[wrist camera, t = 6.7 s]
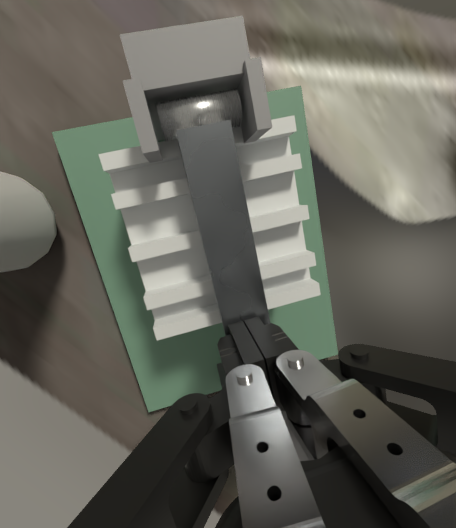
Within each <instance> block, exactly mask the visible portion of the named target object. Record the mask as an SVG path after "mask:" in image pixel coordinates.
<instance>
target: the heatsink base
mask: <svg viewBox="0 0 456 528" xmlns="http://www.w3.org/2000/svg"><path fill="white" fill-rule="evenodd" d="M120 37H121V41H122V45H123V48H124V52H125V56H126V60H127V63H128V67H129V71H130V74H131V78H132V79H129V80H124V81H123V84H124V88H125V91H126V95H127V98H128V102H129V106H130V109H131V113H132V117H131V118H126V119H121V120H115V121H110V122H105V123H99V124H94V125H89V126H83V127H78V128H73V129H67V130H62V131H57V132H52V134H53V137H54V140H55V143H56V146H57V149H58V152H59V155H60V157H61V160H62V163H63V166H64V169H65V172H66V175H67V178H68V181H69V183H70V186H71V189H72V192H73V195H74V198H75V201H76V204H77V207H78V209H79V212H80V215H81V218H82V221H83V224H84V227H85V230H86V233H87V236H88V238H89V241H90V244H91V247H92V250H93V253H94V256H95V259H96V262H97V264H98V267H99V270H100V273H101V276H102V279H103V282H104V285H105V288H106V291H107V293H108V296H109V299H110V302H111V305H112V308H113V311H114V314H115V317H116V319H117V322H118V325H119V328H120V331H121V334H122V337H123V340H124V343H125V345H126V348H127V351H128V354H129V357H130V360H131V363H132V366H133V369H134V372H135V374H136V377H137V380H138V383H139V386H140V389H141V392H142V395H143V398H144V400H145V403H146V406H147V409H148V412H152V411H155V410H158V409H162V408H165V407H168V406H171V405H173V404H174V403H175V402H176V401H177V400H178V399H180V398H181V397H183V396H185V395H188V394H192V393H201V394H204V395H207V394H210V393H214V392H217V391H220V390H222V386H221V382H220V377H219V373H218V368H217V364H218V363H222V361H221V358H220V354H219V350H218V346H217V344H218V341H219V339H220V338H221V337H225V334H224V329H223V325H222V321H221V317H220V313H219V309H218V305H217V301H216V297H215V293H214V289H213V285H212V280H211V276H210V272H209V268H208V264H207V260H206V256H205V252H204V248H203V244H202V240H201V236H200V232H199V227H198V223H197V219H196V215H195V211H194V207H193V203H192V199H191V195H190V191H189V187H188V183H187V178H186V174H185V170H184V166H183V162H182V158H181V154H180V150H179V146H178V142H177V140H172V141H167V142H165V139H164V135H163V131H162V127H161V123H160V119H159V115H158V111H157V107H156V103H158V102H163V101H169V100H174V99H180V98H185V97H191V96H196V95H202V94H207V93H213V92H218V91H224V90H229V89H234V88H236V89H237V91H238V93H239V96H240V100H241V106H242V125H241V127H237V128H232V131H233V136H234V141H235V146H236V151H237V156H238V161H239V166H240V171H241V176H242V181H243V187H244V192H245V197H246V202H247V207H248V212H249V217H250V222H251V227H252V232H253V237H254V242H255V247H256V252H257V257H258V262H259V267H260V273H261V278H262V283H263V288H264V293H265V298H266V303H267V308H268V313H269V318H270V323H273V324H275V325H278V326H280V327H281V329H282V330H283V331H284V333H286V335H287V336H288V337H289V338H290V339H291V341H292V342H293V343H294V344H295V345H296V347H297V348H298V349H299V350H304V351H307V352H309V353H311V354H312V355H313V356H314V357H315V358H316V359H318V360H321V359H324V358H327V357H331V356H334V355H337V354H338V351H337V343H336V336H335V329H334V322H333V314H332V307H331V300H330V292H329V286H328V278H327V271H326V264H325V256H324V250H323V242H322V234H321V227H320V220H319V213H318V205H317V198H316V191H315V184H314V176H313V169H312V162H311V155H310V147H309V140H308V133H307V125H306V118H305V111H304V104H303V96H302V89H301V86H297V87H292V88H286V89H281V90H276V91H270V92H266V86H265V80H264V74H263V67H262V61H261V57H257V58H252V59H250V54H249V49H248V43H247V37H246V31H245V26H244V20H243V16H237V17H231V18H224V19H218V20H211V21H205V22H198V23H192V24H185V25H179V26H172V27H166V28H159V29H153V30H146V31H139V32H133V33H126V34H120Z"/></svg>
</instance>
